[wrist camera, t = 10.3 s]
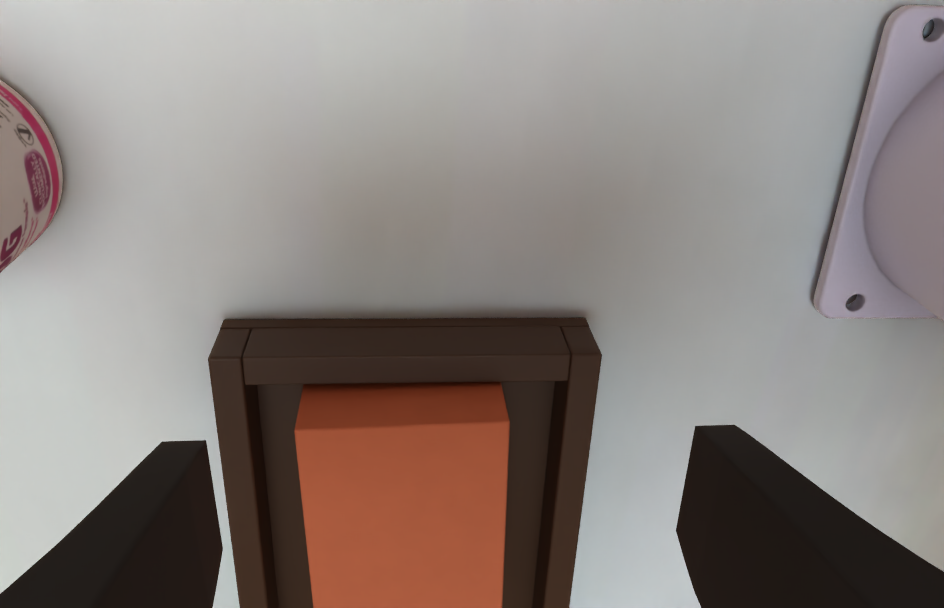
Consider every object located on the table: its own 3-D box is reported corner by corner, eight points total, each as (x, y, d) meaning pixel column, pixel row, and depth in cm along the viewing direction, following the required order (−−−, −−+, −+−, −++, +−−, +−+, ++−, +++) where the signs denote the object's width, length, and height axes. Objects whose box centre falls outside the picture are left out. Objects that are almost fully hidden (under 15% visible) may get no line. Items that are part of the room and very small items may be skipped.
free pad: (495, 357, 21) (510, 422, 18) (489, 577, 25) (500, 658, 22) (307, 363, 21) (293, 430, 18) (327, 586, 24) (319, 669, 22)
